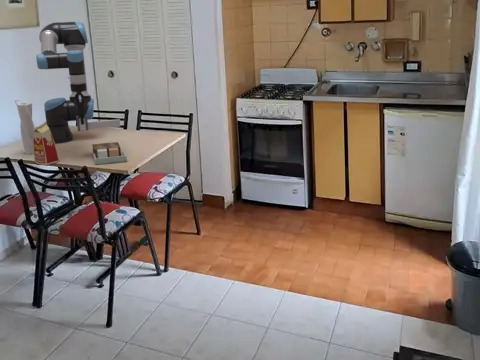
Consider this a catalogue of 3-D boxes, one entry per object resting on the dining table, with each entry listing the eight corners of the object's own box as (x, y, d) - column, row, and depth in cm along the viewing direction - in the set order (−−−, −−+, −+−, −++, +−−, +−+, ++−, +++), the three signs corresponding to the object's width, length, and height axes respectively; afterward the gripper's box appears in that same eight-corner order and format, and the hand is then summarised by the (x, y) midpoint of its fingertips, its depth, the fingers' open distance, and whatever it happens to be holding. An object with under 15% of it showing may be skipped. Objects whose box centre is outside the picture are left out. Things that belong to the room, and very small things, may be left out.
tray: (95, 164, 271) (94, 158, 270) (93, 159, 280) (93, 153, 279) (126, 161, 276) (126, 155, 275) (124, 156, 285) (123, 150, 284)
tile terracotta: (109, 157, 282) (109, 159, 278) (108, 148, 281) (109, 150, 277) (118, 156, 283) (119, 158, 280) (117, 147, 282) (118, 149, 278)
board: (94, 159, 280) (93, 149, 279) (93, 153, 290) (92, 144, 289) (121, 156, 284) (120, 147, 283) (118, 151, 294) (117, 142, 293)
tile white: (97, 158, 280) (98, 160, 277) (96, 149, 279) (97, 151, 275) (107, 157, 282) (107, 159, 278) (106, 148, 280) (106, 150, 277)
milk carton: (48, 158, 282) (43, 119, 276) (60, 161, 278) (55, 121, 271) (32, 163, 275) (27, 123, 269) (44, 166, 270) (39, 125, 264)
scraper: (78, 131, 281) (76, 117, 278) (77, 129, 284) (76, 115, 282) (120, 127, 287) (119, 113, 285) (119, 125, 290) (118, 112, 288)
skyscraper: (22, 155, 289) (15, 101, 280) (21, 151, 296) (14, 98, 287) (38, 153, 292) (31, 99, 283) (37, 149, 299) (30, 97, 290)
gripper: (69, 80, 282) (74, 125, 290) (70, 86, 266) (76, 134, 274) (84, 79, 284) (89, 124, 292) (87, 85, 269) (91, 132, 277)
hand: (82, 129), depth 283 cm, fingers closed on scraper, 4 cm apart
